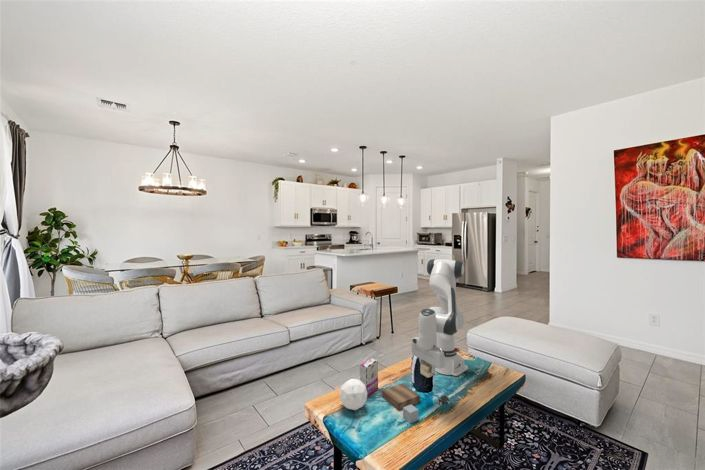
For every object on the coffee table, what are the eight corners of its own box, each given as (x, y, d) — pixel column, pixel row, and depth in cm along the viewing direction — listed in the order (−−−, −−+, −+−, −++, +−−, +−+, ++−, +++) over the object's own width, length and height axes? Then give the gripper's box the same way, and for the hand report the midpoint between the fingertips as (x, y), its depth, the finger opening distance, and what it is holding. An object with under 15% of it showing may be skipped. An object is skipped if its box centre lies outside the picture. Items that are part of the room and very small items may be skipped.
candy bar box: (370, 385, 171) (370, 357, 171) (378, 388, 168) (378, 359, 168) (359, 394, 162) (359, 364, 162) (367, 397, 159) (366, 367, 159)
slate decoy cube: (411, 414, 145) (411, 404, 145) (418, 420, 140) (418, 409, 140) (403, 417, 142) (403, 407, 142) (410, 423, 138) (410, 412, 138)
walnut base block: (402, 390, 167) (402, 383, 167) (419, 403, 155) (419, 395, 155) (381, 397, 160) (381, 390, 160) (398, 411, 148) (398, 403, 148)
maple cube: (427, 371, 153) (427, 361, 153) (435, 375, 149) (435, 365, 149) (420, 373, 151) (420, 363, 150) (427, 377, 146) (427, 367, 146)
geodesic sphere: (371, 416, 143) (371, 386, 143) (342, 420, 141) (341, 390, 141) (364, 399, 158) (364, 372, 158) (337, 402, 156) (337, 374, 155)
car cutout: (441, 409, 149) (441, 400, 149) (434, 402, 156) (434, 393, 156) (466, 403, 154) (466, 395, 154) (458, 396, 160) (458, 388, 160)
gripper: (448, 348, 142) (448, 377, 142) (418, 335, 160) (418, 361, 160) (438, 351, 139) (438, 380, 139) (409, 337, 156) (409, 363, 157)
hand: (427, 370), depth 150 cm, fingers closed on maple cube, 5 cm apart
